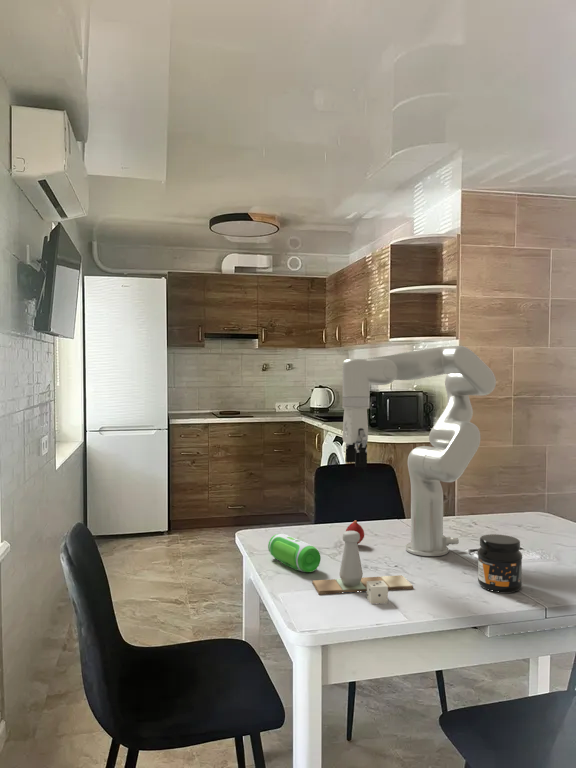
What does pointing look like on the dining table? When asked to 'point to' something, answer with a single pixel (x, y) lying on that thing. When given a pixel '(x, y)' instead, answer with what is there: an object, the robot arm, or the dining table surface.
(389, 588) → the track
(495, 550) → the supplement container
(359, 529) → the onion
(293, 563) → the speaker
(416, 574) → the dining table surface
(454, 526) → the dining table surface
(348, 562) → the salt shaker
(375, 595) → the die
